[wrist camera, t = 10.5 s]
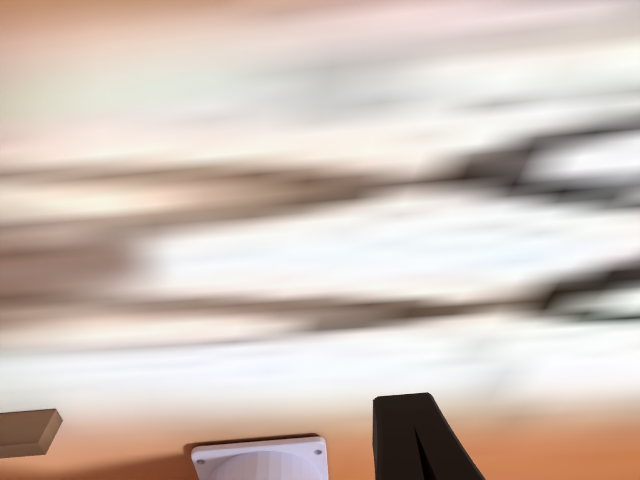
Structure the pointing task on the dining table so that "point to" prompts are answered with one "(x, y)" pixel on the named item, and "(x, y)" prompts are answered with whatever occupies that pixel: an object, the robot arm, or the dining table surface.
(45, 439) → the bar
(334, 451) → the dining table surface
